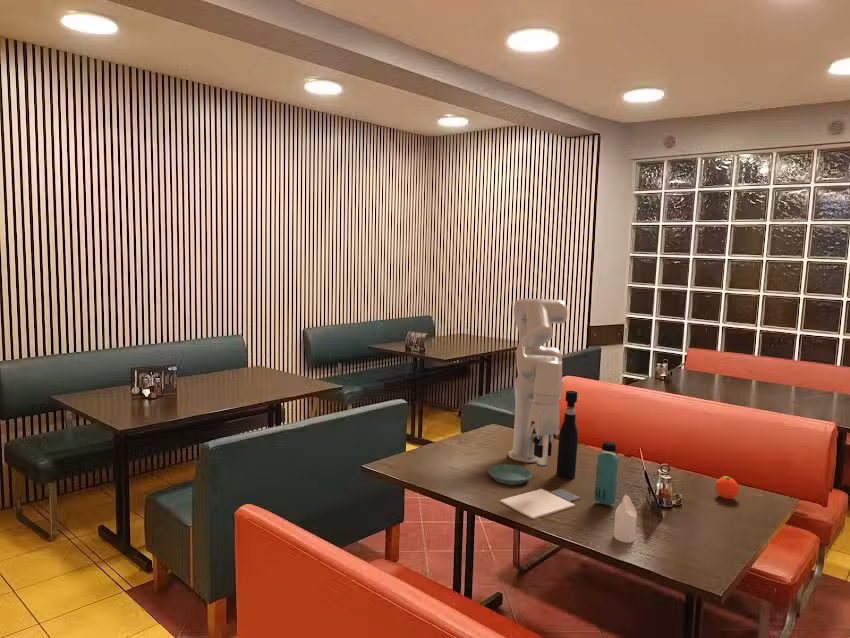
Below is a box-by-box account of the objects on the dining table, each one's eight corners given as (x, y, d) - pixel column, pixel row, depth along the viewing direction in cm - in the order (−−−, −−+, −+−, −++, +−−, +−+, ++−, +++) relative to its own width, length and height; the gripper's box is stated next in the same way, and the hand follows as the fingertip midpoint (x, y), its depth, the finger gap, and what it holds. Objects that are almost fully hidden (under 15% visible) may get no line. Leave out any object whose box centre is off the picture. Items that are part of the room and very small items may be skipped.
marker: (541, 462, 195) (544, 424, 193) (549, 465, 192) (551, 427, 191) (534, 464, 193) (537, 425, 192) (541, 467, 190) (544, 428, 189)
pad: (541, 490, 197) (541, 488, 197) (574, 506, 186) (574, 504, 186) (500, 501, 187) (500, 499, 187) (532, 519, 176) (532, 517, 176)
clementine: (709, 491, 203) (711, 471, 202) (730, 493, 202) (732, 472, 202) (719, 501, 195) (721, 480, 194) (741, 503, 194) (743, 481, 194)
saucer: (505, 468, 217) (506, 461, 217) (540, 480, 207) (540, 473, 207) (479, 477, 207) (479, 470, 207) (513, 491, 197) (514, 483, 196)
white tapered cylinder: (634, 502, 161) (613, 496, 165) (631, 545, 163) (610, 538, 166) (641, 495, 166) (620, 489, 169) (637, 536, 168) (617, 530, 171)
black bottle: (554, 477, 210) (560, 392, 206) (557, 471, 215) (563, 388, 212) (573, 480, 207) (580, 395, 204) (576, 474, 213) (582, 391, 210)
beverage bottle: (615, 503, 190) (620, 441, 188) (614, 511, 184) (620, 447, 182) (594, 499, 192) (599, 438, 190) (592, 507, 186) (597, 444, 184)
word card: (561, 490, 198) (561, 488, 198) (580, 498, 192) (580, 497, 192) (550, 493, 196) (550, 491, 196) (569, 502, 189) (569, 500, 189)
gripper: (555, 394, 198) (551, 448, 200) (518, 398, 189) (515, 456, 191) (572, 398, 192) (569, 455, 194) (536, 404, 183) (532, 463, 184)
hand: (542, 455), depth 192 cm, fingers closed on marker, 3 cm apart
